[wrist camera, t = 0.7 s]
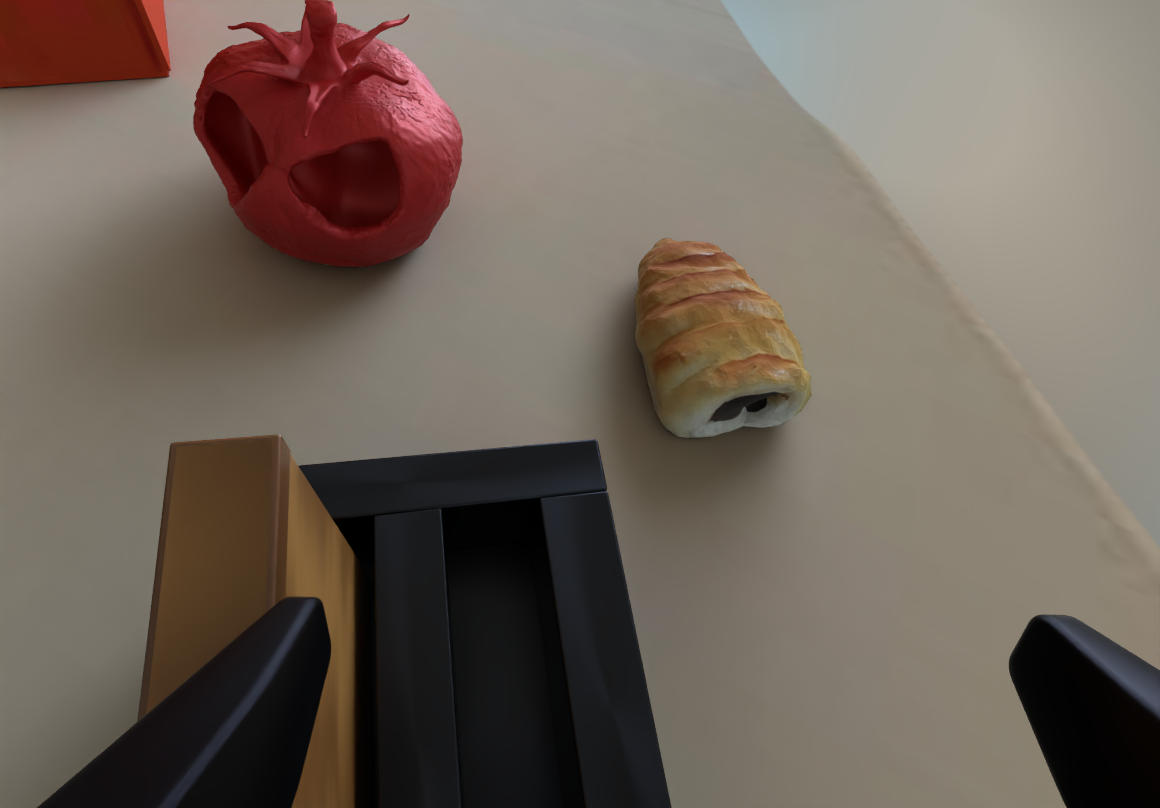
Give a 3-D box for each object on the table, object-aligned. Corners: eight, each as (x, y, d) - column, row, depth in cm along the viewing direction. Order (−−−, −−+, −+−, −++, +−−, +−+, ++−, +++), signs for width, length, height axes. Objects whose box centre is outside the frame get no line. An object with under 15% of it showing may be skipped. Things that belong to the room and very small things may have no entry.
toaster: (641, 992, 17) (733, 1108, 11) (175, 1121, 15) (-27, 1354, 9) (565, 525, 23) (597, 437, 17) (228, 564, 21) (129, 479, 15)
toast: (377, 995, 14) (241, 1419, 5) (305, 1014, 13) (42, 1494, 5) (368, 572, 18) (281, 432, 9) (312, 579, 17) (168, 441, 9)
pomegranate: (311, 112, 32) (258, -107, 24) (496, 181, 32) (505, -21, 24) (181, 244, 27) (59, 21, 19) (400, 328, 26) (368, 135, 18)
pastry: (598, 271, 30) (614, 208, 26) (730, 258, 31) (761, 198, 28) (660, 453, 25) (689, 405, 22) (809, 427, 27) (856, 379, 24)
